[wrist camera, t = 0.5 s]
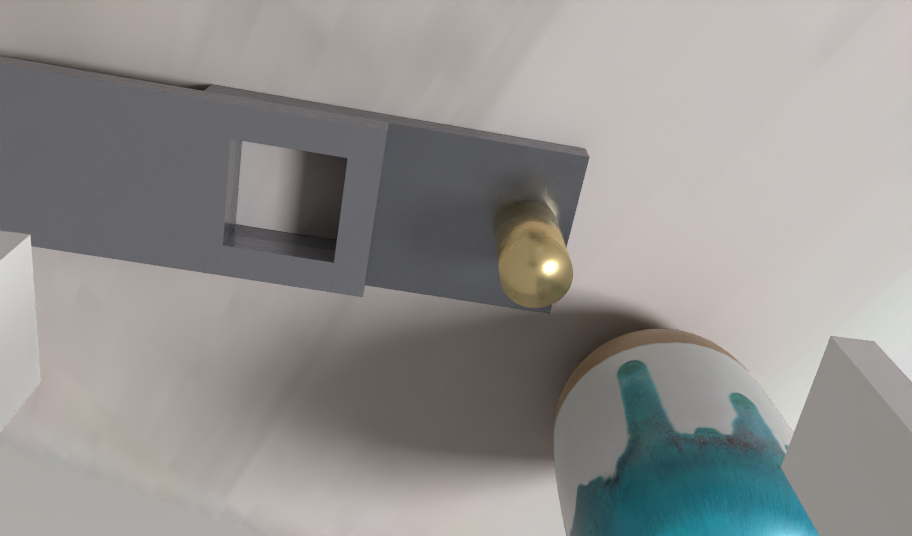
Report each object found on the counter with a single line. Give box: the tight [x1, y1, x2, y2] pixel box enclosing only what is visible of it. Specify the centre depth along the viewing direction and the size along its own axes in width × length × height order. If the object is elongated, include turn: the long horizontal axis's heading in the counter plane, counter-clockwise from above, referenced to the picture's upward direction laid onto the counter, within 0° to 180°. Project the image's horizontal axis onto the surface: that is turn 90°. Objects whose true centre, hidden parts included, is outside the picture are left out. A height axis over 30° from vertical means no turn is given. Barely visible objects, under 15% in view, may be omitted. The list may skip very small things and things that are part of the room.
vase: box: [554, 329, 819, 536], centre depth 35 cm, size 11×11×19 cm
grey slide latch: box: [0, 56, 589, 314], centre depth 37 cm, size 8×26×6 cm, turn 80°
